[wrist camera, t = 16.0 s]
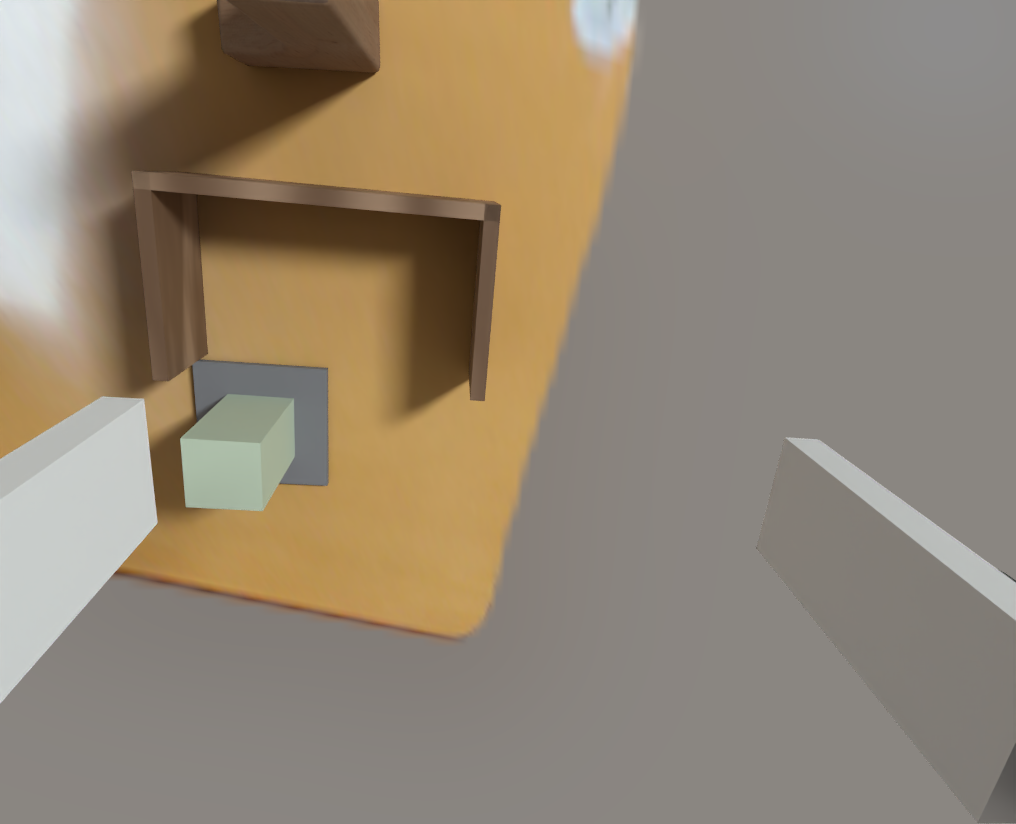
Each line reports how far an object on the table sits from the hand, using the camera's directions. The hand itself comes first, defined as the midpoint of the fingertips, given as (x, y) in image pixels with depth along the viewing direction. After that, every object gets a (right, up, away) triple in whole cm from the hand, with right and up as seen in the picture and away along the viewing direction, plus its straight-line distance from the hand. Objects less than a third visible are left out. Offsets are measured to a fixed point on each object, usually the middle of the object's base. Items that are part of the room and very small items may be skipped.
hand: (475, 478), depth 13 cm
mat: (-19, 0, +38) cm, 42 cm away
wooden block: (-12, +26, +29) cm, 41 cm away
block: (-19, 0, +37) cm, 42 cm away
